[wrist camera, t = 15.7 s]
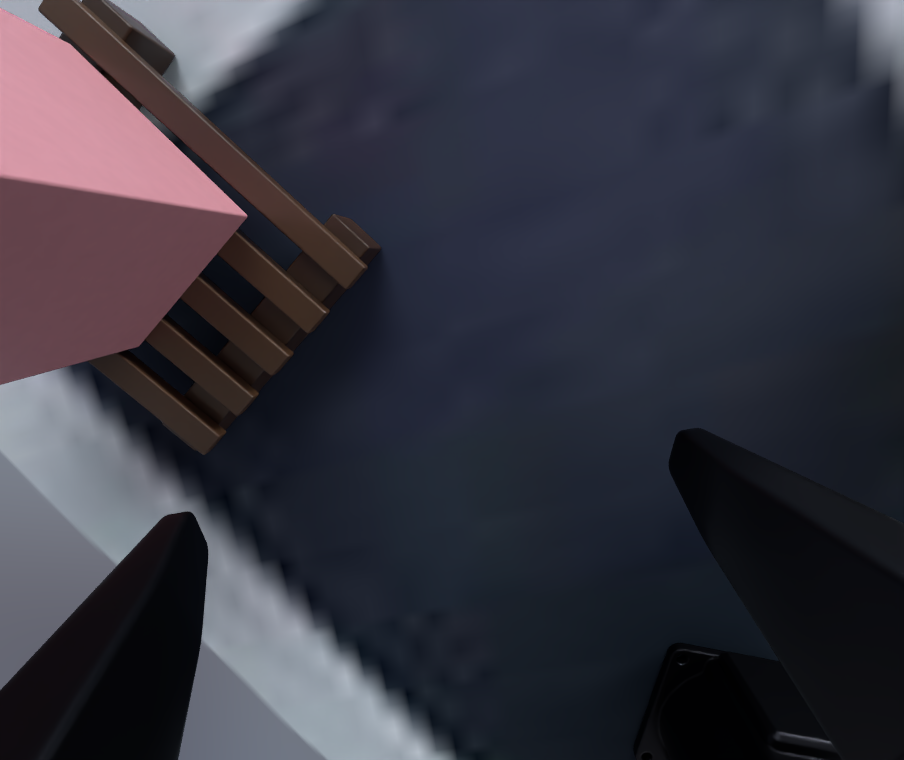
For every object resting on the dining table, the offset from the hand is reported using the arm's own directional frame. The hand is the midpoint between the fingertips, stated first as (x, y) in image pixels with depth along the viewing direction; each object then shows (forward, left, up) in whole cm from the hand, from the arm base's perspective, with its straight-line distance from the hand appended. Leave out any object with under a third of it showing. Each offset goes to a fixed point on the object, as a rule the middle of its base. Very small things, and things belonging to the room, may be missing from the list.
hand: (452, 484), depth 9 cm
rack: (+2, +11, -11) cm, 16 cm away
